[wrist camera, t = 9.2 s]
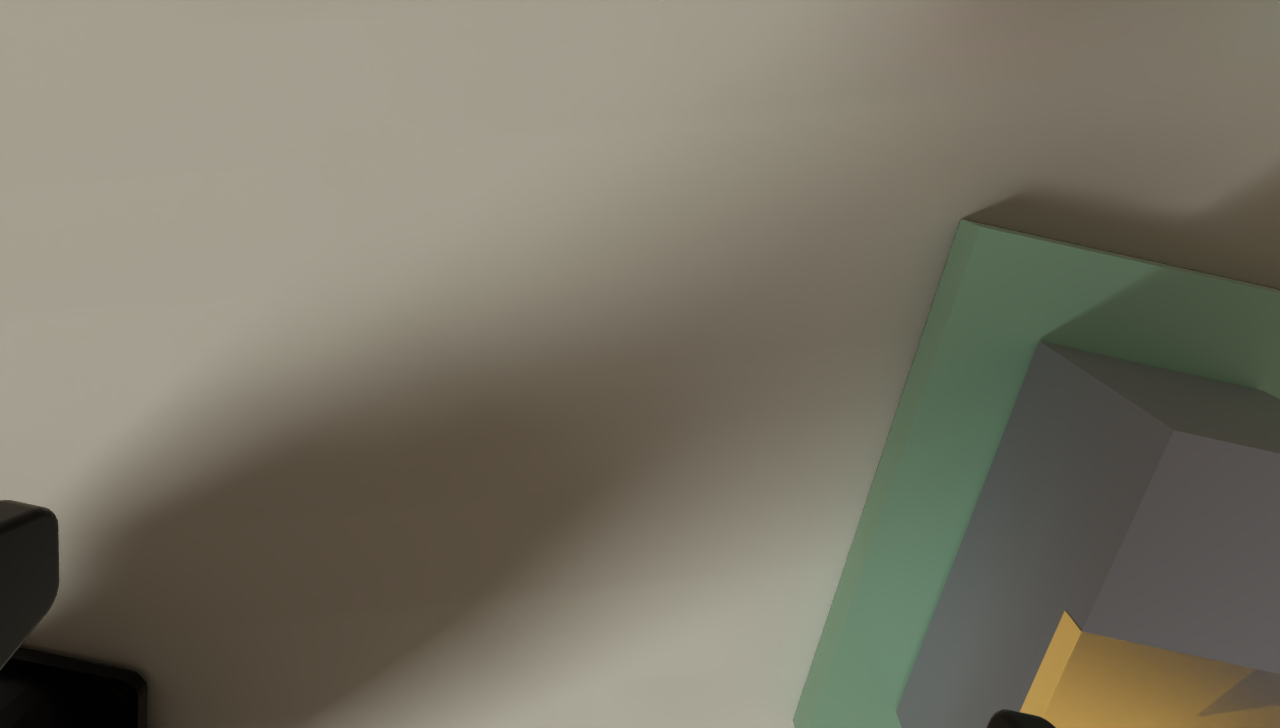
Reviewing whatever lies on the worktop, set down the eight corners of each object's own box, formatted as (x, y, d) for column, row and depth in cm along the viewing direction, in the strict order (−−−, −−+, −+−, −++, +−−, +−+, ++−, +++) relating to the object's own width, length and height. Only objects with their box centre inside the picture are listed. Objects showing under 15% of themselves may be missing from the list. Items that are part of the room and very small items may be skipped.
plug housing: (895, 711, 20) (960, 895, 16) (1037, 340, 17) (1172, 430, 13) (1087, 752, 21) (1209, 947, 16) (1263, 390, 18) (1480, 498, 13)
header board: (793, 720, 22) (817, 854, 18) (960, 219, 18) (1041, 252, 14) (1109, 785, 22) (1202, 933, 18) (1351, 305, 18) (1541, 362, 14)
